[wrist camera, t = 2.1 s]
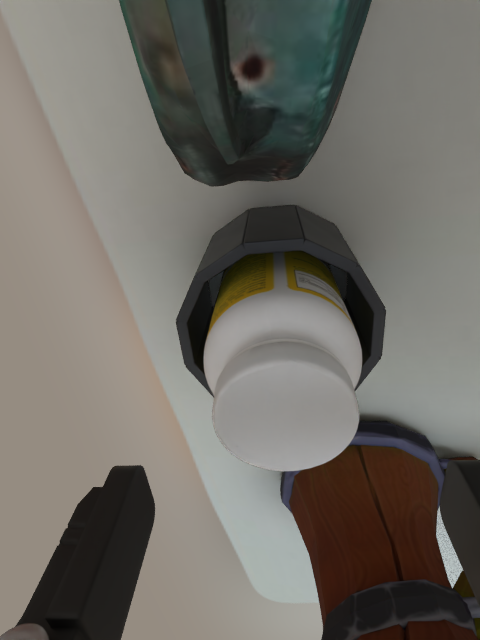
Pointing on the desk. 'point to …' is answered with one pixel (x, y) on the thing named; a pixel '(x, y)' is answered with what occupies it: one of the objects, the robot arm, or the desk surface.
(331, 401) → the pill bottle
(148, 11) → the ceramic cat
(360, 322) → the cup
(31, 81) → the desk surface
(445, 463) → the mug
